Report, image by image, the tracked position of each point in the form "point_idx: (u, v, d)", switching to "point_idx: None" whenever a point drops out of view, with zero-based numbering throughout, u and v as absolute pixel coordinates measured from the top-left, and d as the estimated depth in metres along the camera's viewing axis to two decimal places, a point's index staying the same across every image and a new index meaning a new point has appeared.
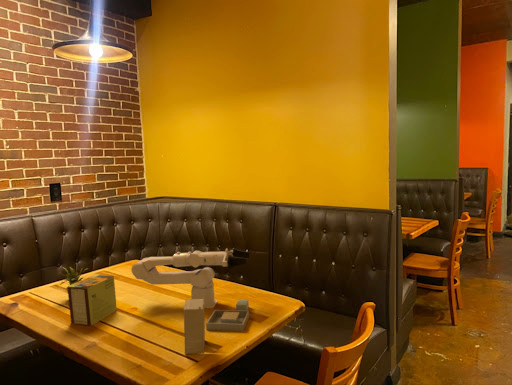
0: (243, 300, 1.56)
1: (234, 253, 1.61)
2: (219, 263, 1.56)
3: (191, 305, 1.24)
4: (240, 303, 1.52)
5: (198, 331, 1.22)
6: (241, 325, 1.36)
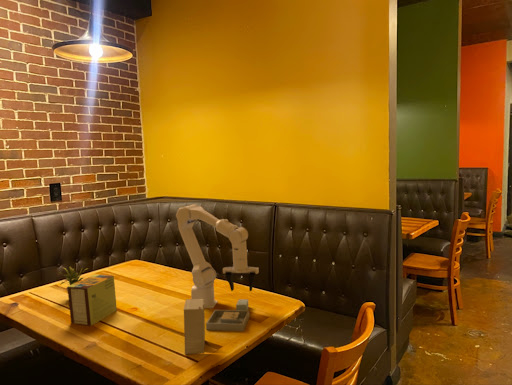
0: (243, 300, 1.56)
1: None
2: None
3: (191, 305, 1.24)
4: (240, 303, 1.52)
5: (198, 331, 1.22)
6: (241, 325, 1.36)
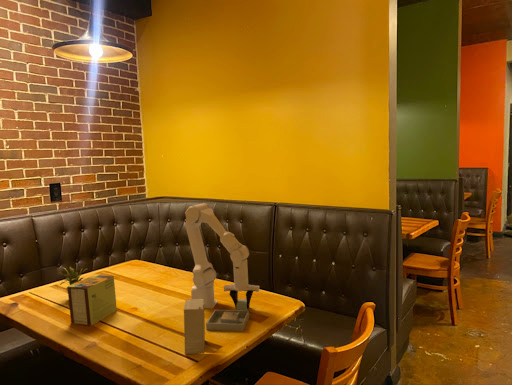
0: (243, 300, 1.56)
1: None
2: None
3: (191, 305, 1.24)
4: (240, 303, 1.52)
5: (198, 331, 1.22)
6: (241, 325, 1.36)
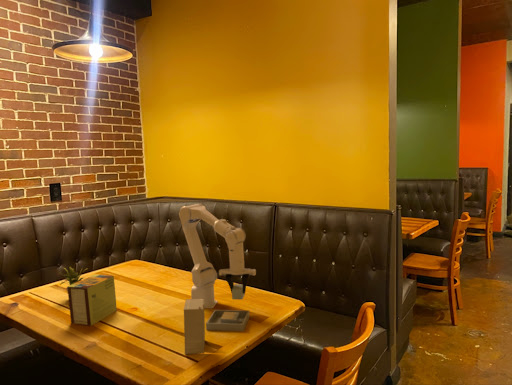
0: (239, 285, 1.51)
1: None
2: None
3: (191, 305, 1.24)
4: (236, 288, 1.48)
5: (198, 331, 1.22)
6: (241, 325, 1.36)
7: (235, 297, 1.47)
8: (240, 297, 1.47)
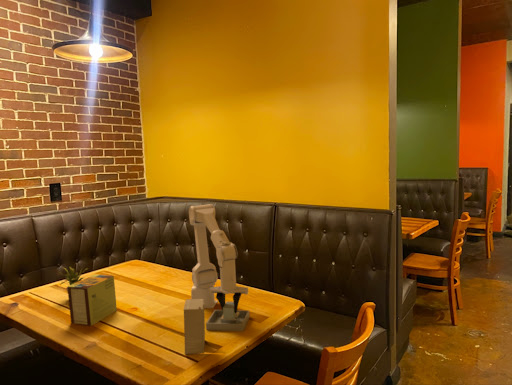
0: (231, 302, 1.43)
1: None
2: None
3: (191, 305, 1.24)
4: (228, 306, 1.40)
5: (198, 331, 1.22)
6: (241, 325, 1.36)
7: (226, 316, 1.39)
8: (231, 316, 1.39)
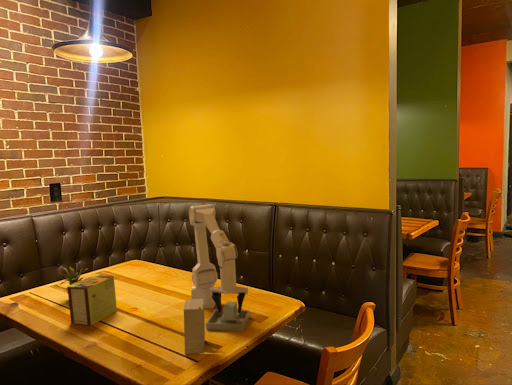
0: (231, 302, 1.43)
1: None
2: None
3: (191, 305, 1.24)
4: (228, 306, 1.40)
5: (198, 331, 1.22)
6: (241, 325, 1.36)
7: (226, 316, 1.39)
8: (231, 316, 1.39)
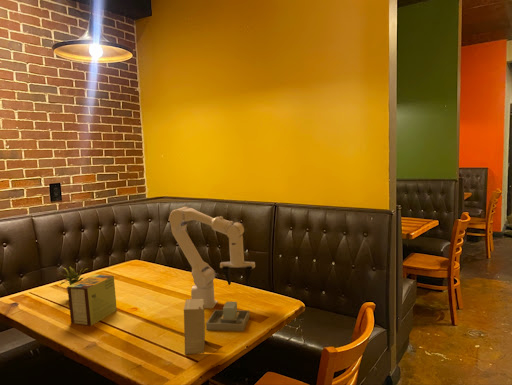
0: (231, 302, 1.43)
1: None
2: None
3: (191, 305, 1.24)
4: (228, 306, 1.40)
5: (198, 331, 1.22)
6: (241, 325, 1.36)
7: (226, 316, 1.39)
8: (231, 316, 1.39)
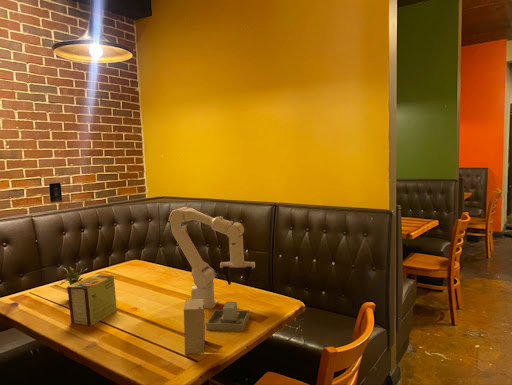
0: (231, 302, 1.43)
1: None
2: None
3: (191, 305, 1.24)
4: (228, 306, 1.40)
5: (198, 331, 1.22)
6: (241, 325, 1.36)
7: (226, 316, 1.39)
8: (231, 316, 1.39)
